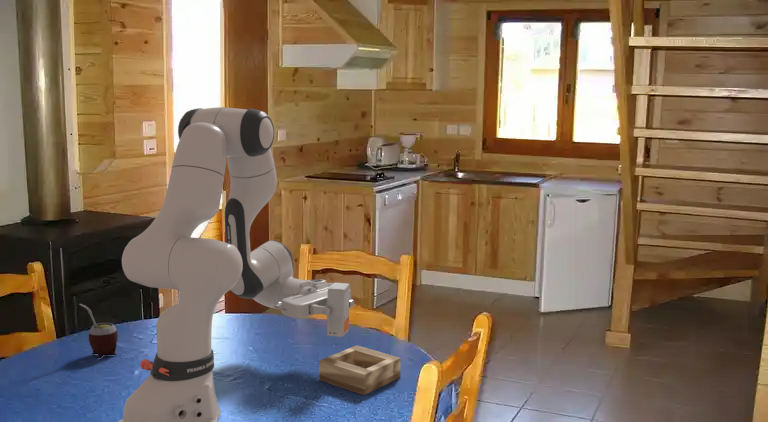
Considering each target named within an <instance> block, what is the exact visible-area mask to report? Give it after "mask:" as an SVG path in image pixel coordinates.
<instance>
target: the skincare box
mask: <svg viewBox="0 0 768 422" xmlns="http://www.w3.org/2000/svg"><path fill="white" fill-rule="evenodd" d="M350 290H351V289H350V283H345V282H332V285H331V286H330V287H329V288H328V294H327V306H329V307H331V308H332V313H331V314H329V315H326V317H327V319H326V324H327V325H326V336H329V337H338V338H343V337H344V336H345V335H346V333H348V331H349V330H350V308H349V293H350Z"/></svg>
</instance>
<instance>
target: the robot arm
mask: <svg viewBox="0 0 768 422" xmlns="http://www.w3.org/2000/svg"><path fill="white" fill-rule="evenodd" d="M274 128H275V127H274V124H273V121H272V119H271V118H270V116H269V115H268V114H267V113H266V112H265V111H262V110H259V109H255V108H248V109H244V108H236V107H235V108H234V107H226V106H225V107H224V106H223V107H222V106H221V107H220V106H219V107H208V108H202V107H199V108H193V109H190V110H188V111H186V112H185V113H184V114H183V115H182V117H181V119H180V120H179V122H178V126H177V135H178V143H177V145H176V149H175V152H174V157H173V160H172V165H171V171H170V175H169V180H168V184H167V189H166V193H165V197H164V201H163V203H162V206H161V207H160V210H159V212H158V214H157V215H156V216H155V218H154V220H153V221H152V222H151V224H150V225H149V226H148V227H147V228H146V229H144V231H143V232H141V233H140V234H138V235H137V236H136V237H134V238H132V239H131V240H130V241H128V243H127V245H126V246H125V247H124V249H123V252H122V254H121V255H122V256H121V267H122V270H123V271H122V272H124V275H125V276H126V278H127V279H128V281H131V282H133V283H135V284H139V285H141V286H145V287H149V288H156V289H165V290H166V289H167V290H168V289H169V290H177V291H178V292H179V293H178V294H179V299H178V302H177V303H176V304H174V305H172V306H170V307H168V308H166V309H165V310H164V311H162V312H161V313H160V315H158V316H159V317H158V318H157V321H156V323H155V324H156V327H155V328H156V349H157V351H156V352H157V353H156V354H155V357H154V359H153V361H151V360H149V359H147V358H146V359H145V358H144V359H142V360H141V362H140V364H139V366H140V368H141V369H142V370H145V371H150V373H149V374H150V375H148V377H147V378H145V380H144V381H143V382H142V383H141V384H140V385H139V386H138V387H137V388H136V389H135V391H133V392H132V393H131V395H130V396H128V398H127V399H126V400H125V403H124V407H123V413H122V419H120V420H118V421H117V422H218V420H219V418H220V417H221V413H222V411H221V408H220V405H219V402H218V399H217V394H216V390H215V389H216V388H215V382H214V375H213V372H214V371H213V369H214V368H215V356H214V354H215V353H214V350H213V348H212V328H213V327H212V326H213V316H214V313H215V310H216V307H217V305H218V304H219V302H220V301H221V299H222V297H223V296H224V295H225V294H226V293H228V292H229V291H230V292H231V293H232V294H233V295H234V296H236V297H239V298H242V299H245V300H246V299H247V300H248V299H250V300H254V301H255V302H257V303H258V304H261V306H265V307H268V308H271V309H277V310H279V311H281V314H283V315H285V316H286V317H289V318H292V319H295V320H296V319H297V320H301V319H304V318H308V317H311V316H313V315H323V316H327V315H329V314H331V313H332V308H331V307H329V306H327V294H328V288H329V287H330V286H331V285H332V284H333V282H327V280H326V279H321V278H320V279H319V278H318V279H309V280H308V279H300V278H295V277H294V276H295V266H294V265H295V264H294V258H293V254H292V252H291V250H290V249H289V247H288V246H286V245H285V244H283V243H282V242H280V241H277V240H273V239H270V240H268V241H266V242H264V243H263V244H261V245H259V246H258V247H256V248H255V249H254V250H252V251H251V241H250V240H251V239H250V238H251V237H250V233H251V232H250V231H251V227H252V224H253V222H254V220H255V218H256V217H257V216H258V214H259V213H260V212H261V210H262V209H263V208H264V207H265V206H266V205H267V204H268V203H269V202H270V201H271V199H272V198H273V196H274V194H275V193H276V191H277V183H278V181H277V180H278V177H277V170H276V166H275V165H276V164H275V160H274V156H273V152H272V151H273V150H272V148H271V147H272V145H273V143H274V139H275V129H274ZM226 165H227V166H226ZM226 167H227V168H228V172H229V173H228V174H229V181H230V182H229V194H228V199H227V202H226V205H225V207H224V229H225V231H224V233H225V241H221V240H218V239H214V238H203V237H192V235H193V233H194V231H195V230H196V229H197V228H198V227H199V226H200V225H201V224H203V223H205V222H208V221H209V220H211V219H213V218H214V217H215V216H216V215H217V213H218V212H219V209H220V204H221V200H222V193H223V188H224V187H223V186H224V181H225V177H226V176H225V174H226ZM354 306H355V300H354V299H352V291H351V289H350V293H349V309H350V308H353V307H354Z"/></svg>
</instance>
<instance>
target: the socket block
mask: <svg viewBox="0 0 768 422" xmlns="http://www.w3.org/2000/svg"><path fill="white" fill-rule="evenodd" d="M401 361H402V358H401V357H399V356H396V355H392V354H391V355H389V353H384V352H382V351H378V350H374V349H370V348H368V347H364V346H360V345H354V346H352V347H349V348H346V349H344V350H341V351H339V352H336V353H334V354H332V355H329V356H326V357H325V358H322V359H319V360H318V363H319V364H318V374H319V375H318V380H319V381H321V382H324V383H327V384H329V385H332V386H335V387H339V388H341V389H345V390H346V391H350V392H353V393H356V394H359V395H362V396H366V395H368V394H370V393H371V392H373V391H376V390H378V389H380V388H382V387H384V386H387V385H388V384H390V383H391V382H394V381H397V380H398V379H400V378H401V367H402V366H401Z"/></svg>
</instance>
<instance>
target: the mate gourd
mask: <svg viewBox="0 0 768 422" xmlns="http://www.w3.org/2000/svg"><path fill="white" fill-rule="evenodd" d="M78 305H80V306H81V307H82V308H85V310H87V313H88V314H89V316H90V318H91V320H92V322H93V325H92V326H91V327H90V328H89V329H90V330H89V333H88V342H89V345H90V347H91V349H92V352H91V355H92V354H98V357H96V359H97V358H101V357H102V356H103V355H116V356H117V353H116V350H117V343H118V336H119V334H118V330H117V328H116V325H114V324H113V323H110V322H100V323H96V320H95V318H94V316H93V312H92V310H91V309H90V307H88V306H87V305H85V304H82V303H78Z"/></svg>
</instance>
